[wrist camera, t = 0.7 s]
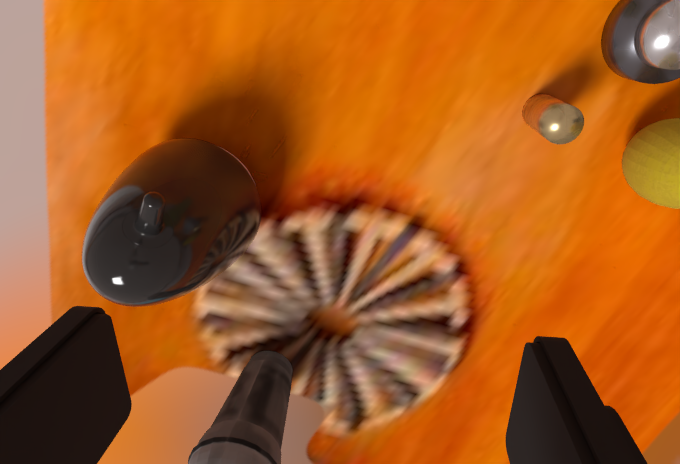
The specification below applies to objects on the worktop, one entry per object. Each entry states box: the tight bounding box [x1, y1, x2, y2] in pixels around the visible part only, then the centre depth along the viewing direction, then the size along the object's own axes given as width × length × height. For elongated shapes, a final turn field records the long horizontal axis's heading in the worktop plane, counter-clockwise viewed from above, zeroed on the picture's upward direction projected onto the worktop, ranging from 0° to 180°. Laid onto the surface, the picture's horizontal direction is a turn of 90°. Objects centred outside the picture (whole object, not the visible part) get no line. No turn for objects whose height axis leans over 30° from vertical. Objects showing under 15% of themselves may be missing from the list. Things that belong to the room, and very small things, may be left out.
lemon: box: [622, 118, 680, 209], centre depth 29 cm, size 6×6×8 cm
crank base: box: [522, 0, 680, 144], centre depth 29 cm, size 12×7×5 cm, turn 152°
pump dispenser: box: [82, 138, 261, 307], centre depth 31 cm, size 10×10×15 cm
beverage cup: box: [188, 351, 293, 464], centre depth 36 cm, size 7×7×20 cm
